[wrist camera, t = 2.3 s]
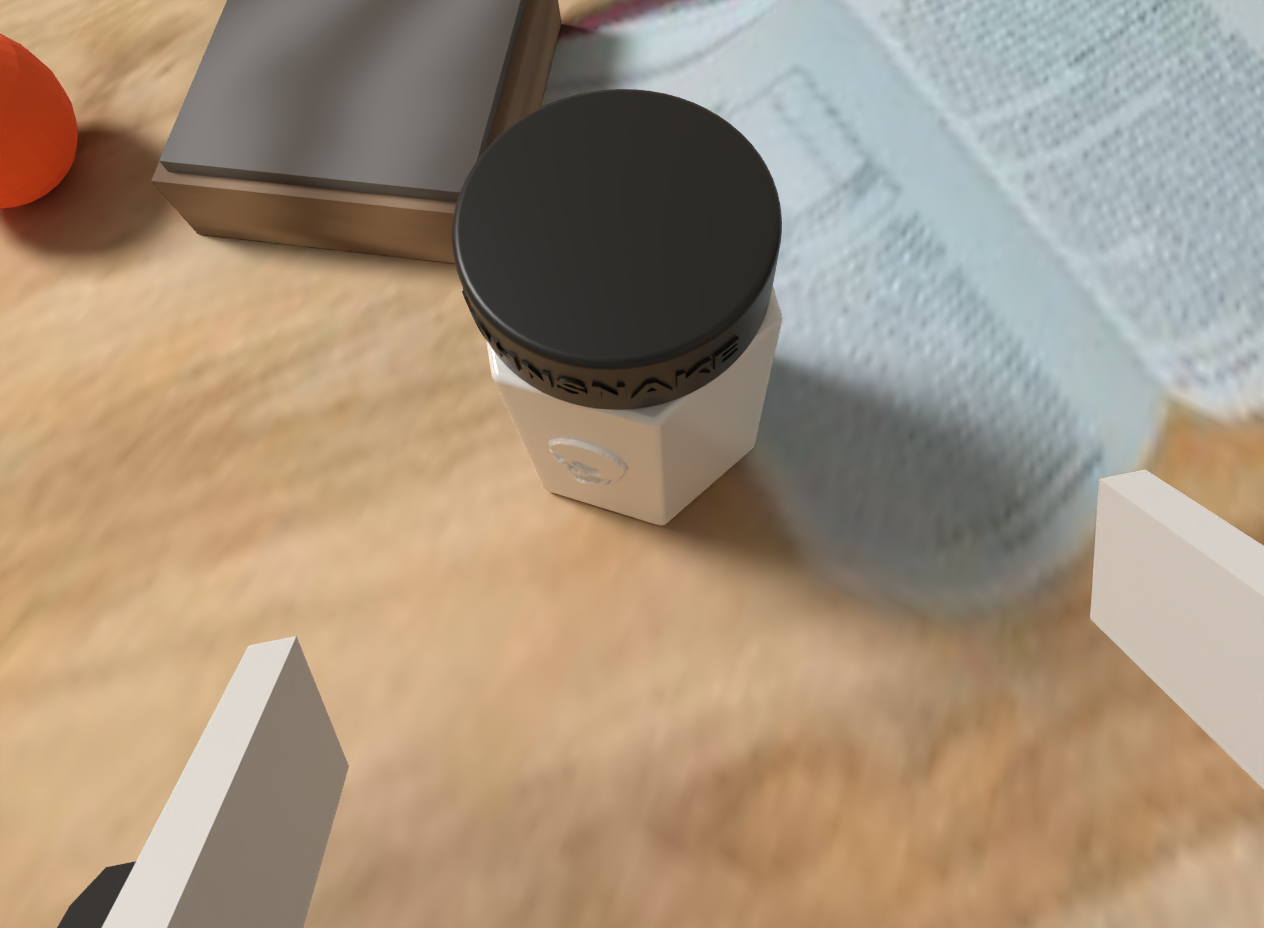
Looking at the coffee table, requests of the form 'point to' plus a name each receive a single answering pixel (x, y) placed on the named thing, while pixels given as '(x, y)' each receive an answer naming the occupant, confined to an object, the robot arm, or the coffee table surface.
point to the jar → (625, 293)
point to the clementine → (32, 127)
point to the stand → (351, 118)
